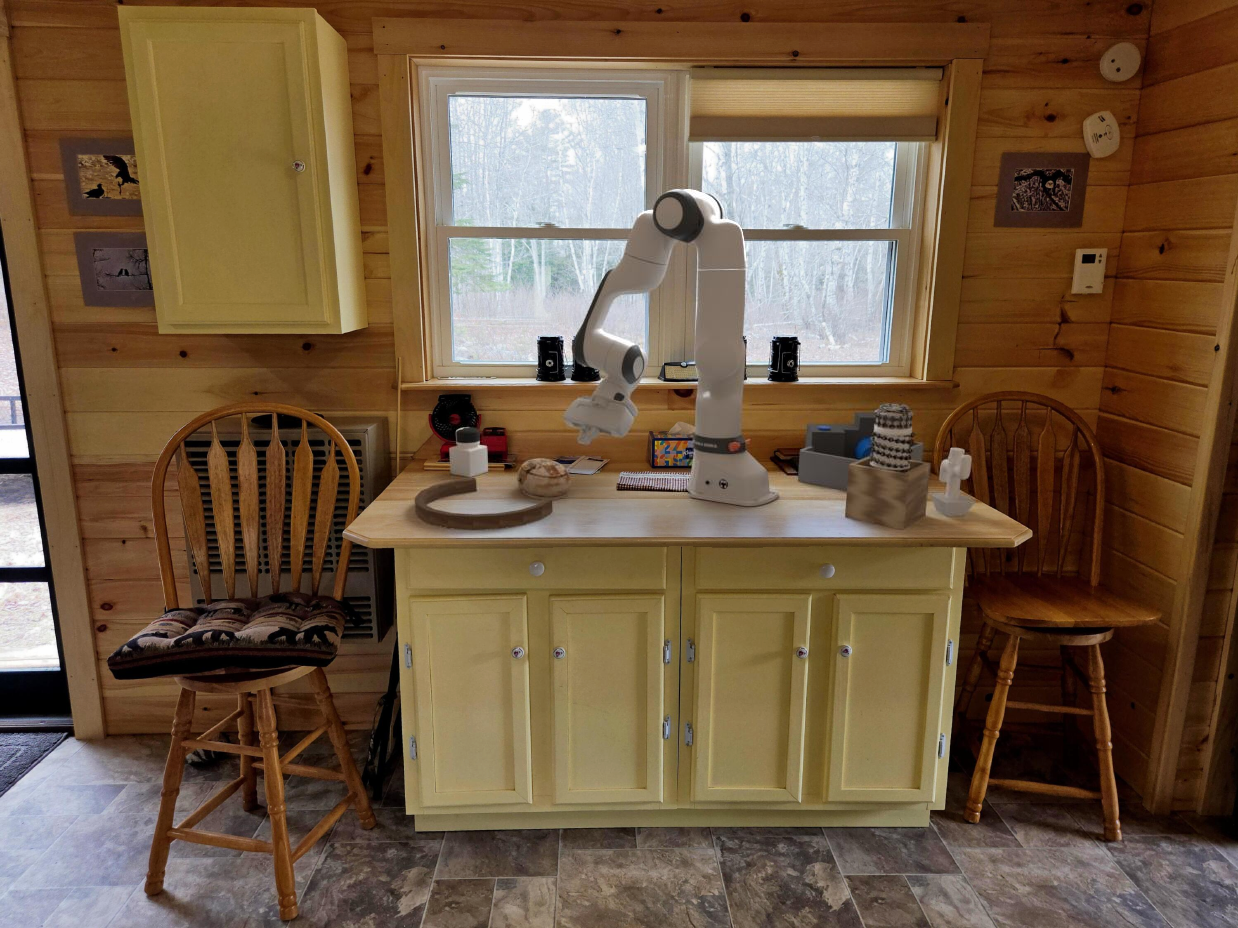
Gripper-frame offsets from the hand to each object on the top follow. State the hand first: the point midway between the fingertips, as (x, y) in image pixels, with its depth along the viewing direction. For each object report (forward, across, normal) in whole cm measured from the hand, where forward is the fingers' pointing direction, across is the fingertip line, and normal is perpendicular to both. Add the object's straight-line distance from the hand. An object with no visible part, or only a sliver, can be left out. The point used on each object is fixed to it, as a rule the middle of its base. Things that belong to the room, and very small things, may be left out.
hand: (582, 442), depth 209 cm
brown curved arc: (+33, +1, -19) cm, 38 cm away
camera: (-30, +51, +42) cm, 73 cm away
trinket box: (+17, +1, -3) cm, 18 cm away
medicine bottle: (+18, -26, -4) cm, 32 cm away
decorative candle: (-10, +72, +22) cm, 76 cm away
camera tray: (-30, +53, +42) cm, 74 cm away
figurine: (-19, +82, +30) cm, 89 cm away
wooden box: (-11, +72, +22) cm, 76 cm away
